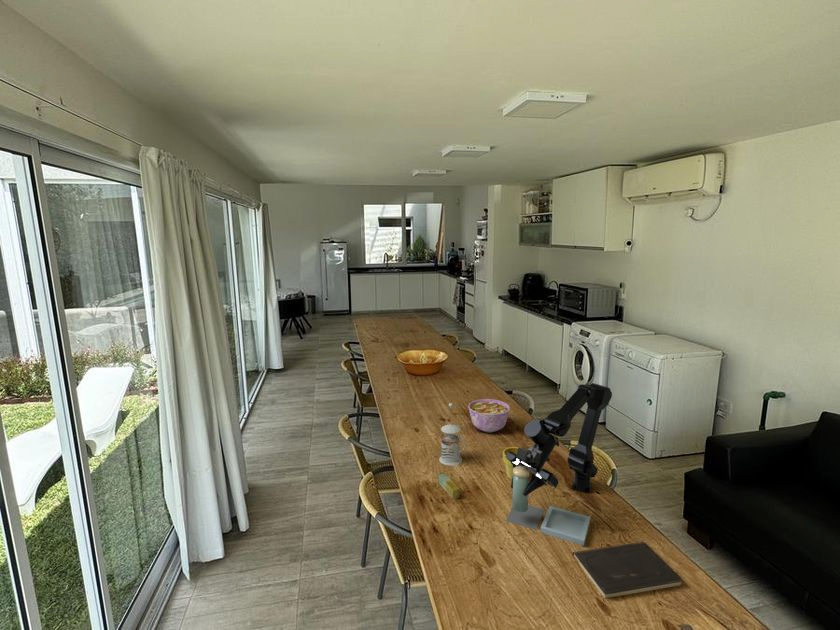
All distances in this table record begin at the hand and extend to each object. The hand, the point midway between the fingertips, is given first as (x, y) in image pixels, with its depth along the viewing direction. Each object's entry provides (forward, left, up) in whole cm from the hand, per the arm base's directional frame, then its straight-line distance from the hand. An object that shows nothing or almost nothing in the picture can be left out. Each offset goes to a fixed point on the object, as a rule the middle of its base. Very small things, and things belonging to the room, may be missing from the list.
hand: (517, 491), depth 142 cm
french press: (-27, -35, -11) cm, 46 cm away
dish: (-4, +15, -11) cm, 19 cm away
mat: (-4, +2, -11) cm, 12 cm away
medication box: (-6, -28, -11) cm, 31 cm away
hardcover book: (+7, +33, -12) cm, 35 cm away
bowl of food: (-63, -32, -11) cm, 72 cm away
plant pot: (-27, -8, -11) cm, 31 cm away
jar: (-1, +1, -6) cm, 6 cm away
